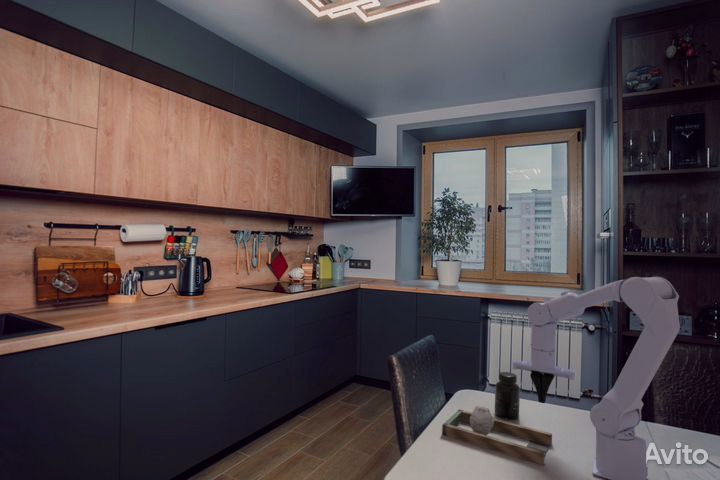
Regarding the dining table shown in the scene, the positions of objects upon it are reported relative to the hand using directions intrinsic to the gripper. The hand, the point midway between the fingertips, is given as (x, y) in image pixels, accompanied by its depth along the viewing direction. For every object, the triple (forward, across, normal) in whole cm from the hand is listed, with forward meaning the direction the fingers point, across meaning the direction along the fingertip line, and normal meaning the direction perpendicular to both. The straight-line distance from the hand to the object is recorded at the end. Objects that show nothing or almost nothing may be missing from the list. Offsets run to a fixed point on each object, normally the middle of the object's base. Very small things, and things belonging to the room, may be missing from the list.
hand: (542, 401), depth 103 cm
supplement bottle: (+10, +11, -9) cm, 17 cm away
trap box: (+9, +9, +8) cm, 15 cm away
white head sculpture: (+10, +13, +8) cm, 18 cm away
